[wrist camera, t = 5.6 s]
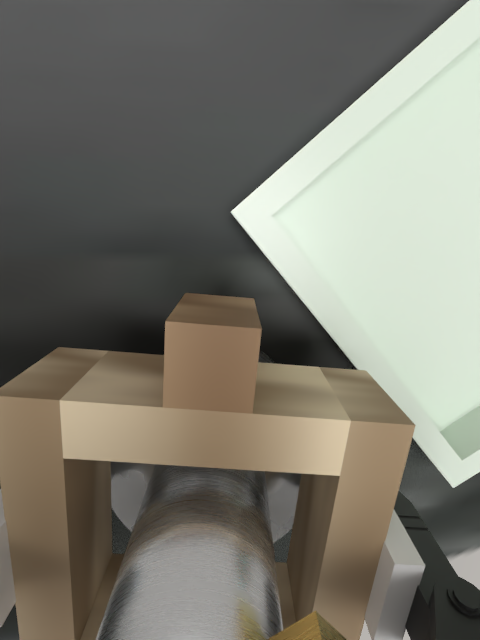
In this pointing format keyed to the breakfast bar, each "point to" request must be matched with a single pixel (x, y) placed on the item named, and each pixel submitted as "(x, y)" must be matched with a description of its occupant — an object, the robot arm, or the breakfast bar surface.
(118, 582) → the grey piece
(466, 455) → the tray
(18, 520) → the tan wooden square frame
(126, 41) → the breakfast bar surface
